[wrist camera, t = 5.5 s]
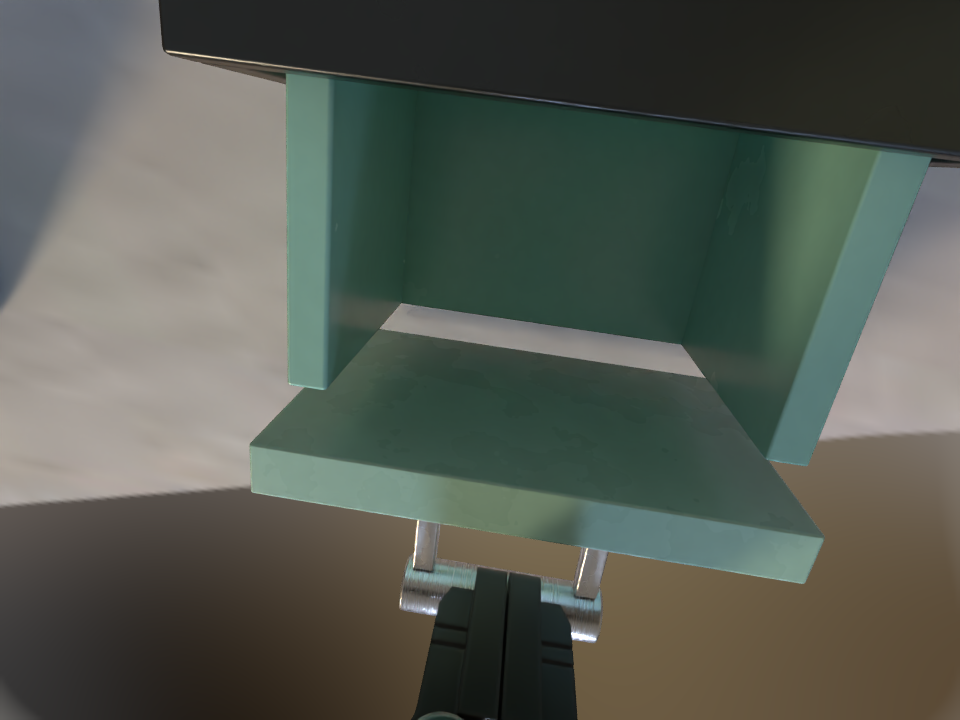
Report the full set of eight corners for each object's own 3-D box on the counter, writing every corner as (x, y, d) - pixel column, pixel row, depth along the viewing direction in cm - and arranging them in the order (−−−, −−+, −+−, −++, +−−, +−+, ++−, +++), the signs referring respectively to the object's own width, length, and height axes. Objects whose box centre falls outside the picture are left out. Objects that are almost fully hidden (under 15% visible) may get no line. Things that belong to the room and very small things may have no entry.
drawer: (659, 538, 20) (729, 758, 13) (355, 488, 21) (256, 672, 13) (850, -89, 13) (1230, -374, 6) (384, -141, 14) (214, -462, 6)
